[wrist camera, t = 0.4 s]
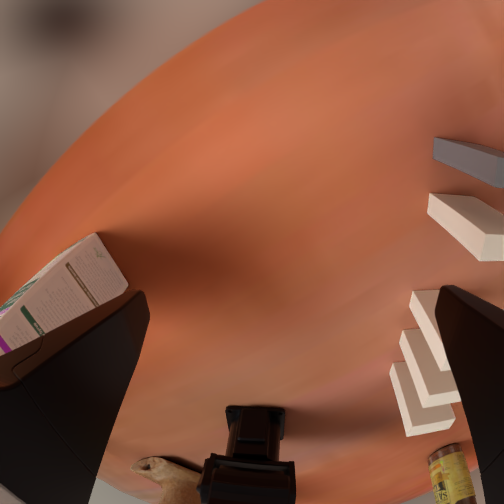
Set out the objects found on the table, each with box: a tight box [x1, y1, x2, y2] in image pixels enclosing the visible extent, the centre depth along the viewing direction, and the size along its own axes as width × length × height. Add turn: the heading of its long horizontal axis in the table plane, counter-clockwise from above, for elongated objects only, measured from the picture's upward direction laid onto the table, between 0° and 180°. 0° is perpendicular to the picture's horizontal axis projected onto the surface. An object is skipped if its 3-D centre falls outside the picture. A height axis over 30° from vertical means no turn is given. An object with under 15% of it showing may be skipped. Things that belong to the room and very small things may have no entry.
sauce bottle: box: [428, 444, 477, 504], centre depth 27 cm, size 6×6×20 cm
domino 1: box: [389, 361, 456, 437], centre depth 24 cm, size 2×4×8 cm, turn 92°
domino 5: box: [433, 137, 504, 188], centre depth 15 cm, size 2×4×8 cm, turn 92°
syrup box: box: [0, 232, 128, 356], centre depth 20 cm, size 6×6×14 cm
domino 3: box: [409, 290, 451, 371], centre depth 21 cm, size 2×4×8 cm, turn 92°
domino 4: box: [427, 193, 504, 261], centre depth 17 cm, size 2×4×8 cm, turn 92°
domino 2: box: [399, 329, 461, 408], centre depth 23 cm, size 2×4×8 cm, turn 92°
